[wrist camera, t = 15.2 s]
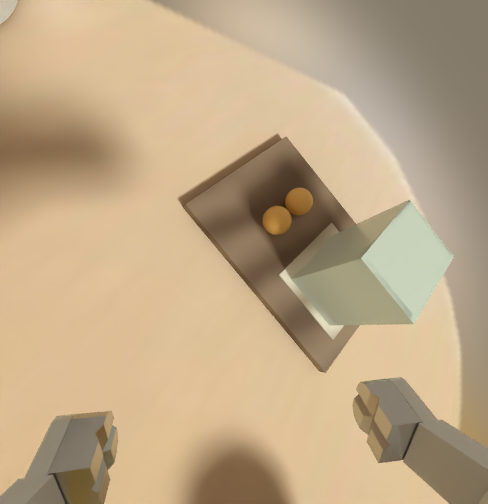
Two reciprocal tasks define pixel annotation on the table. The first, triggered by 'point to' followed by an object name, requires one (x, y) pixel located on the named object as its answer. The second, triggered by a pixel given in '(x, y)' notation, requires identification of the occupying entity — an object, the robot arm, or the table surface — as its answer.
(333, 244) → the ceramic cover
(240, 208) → the walnut board
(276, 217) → the amber marble
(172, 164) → the table surface
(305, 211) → the amber marble
